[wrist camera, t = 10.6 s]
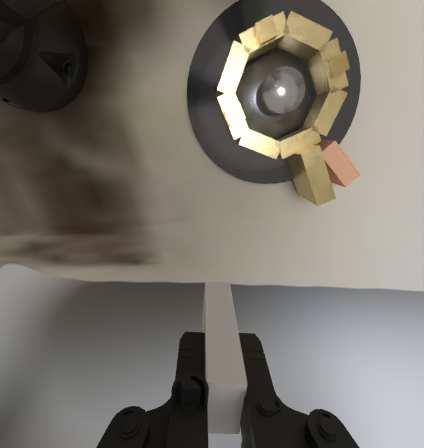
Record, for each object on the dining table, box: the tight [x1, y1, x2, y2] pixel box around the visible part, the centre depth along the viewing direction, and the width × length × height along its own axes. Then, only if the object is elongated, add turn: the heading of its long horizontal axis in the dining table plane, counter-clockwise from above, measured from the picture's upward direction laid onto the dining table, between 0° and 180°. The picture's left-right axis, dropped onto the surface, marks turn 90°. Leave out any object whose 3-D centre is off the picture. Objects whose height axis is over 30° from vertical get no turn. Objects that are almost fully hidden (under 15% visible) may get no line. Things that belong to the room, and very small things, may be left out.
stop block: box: [315, 140, 360, 187], centre depth 36 cm, size 6×2×7 cm, turn 43°
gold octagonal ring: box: [216, 11, 350, 206], centre depth 32 cm, size 22×15×7 cm
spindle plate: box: [187, 0, 361, 184], centre depth 33 cm, size 24×24×7 cm
